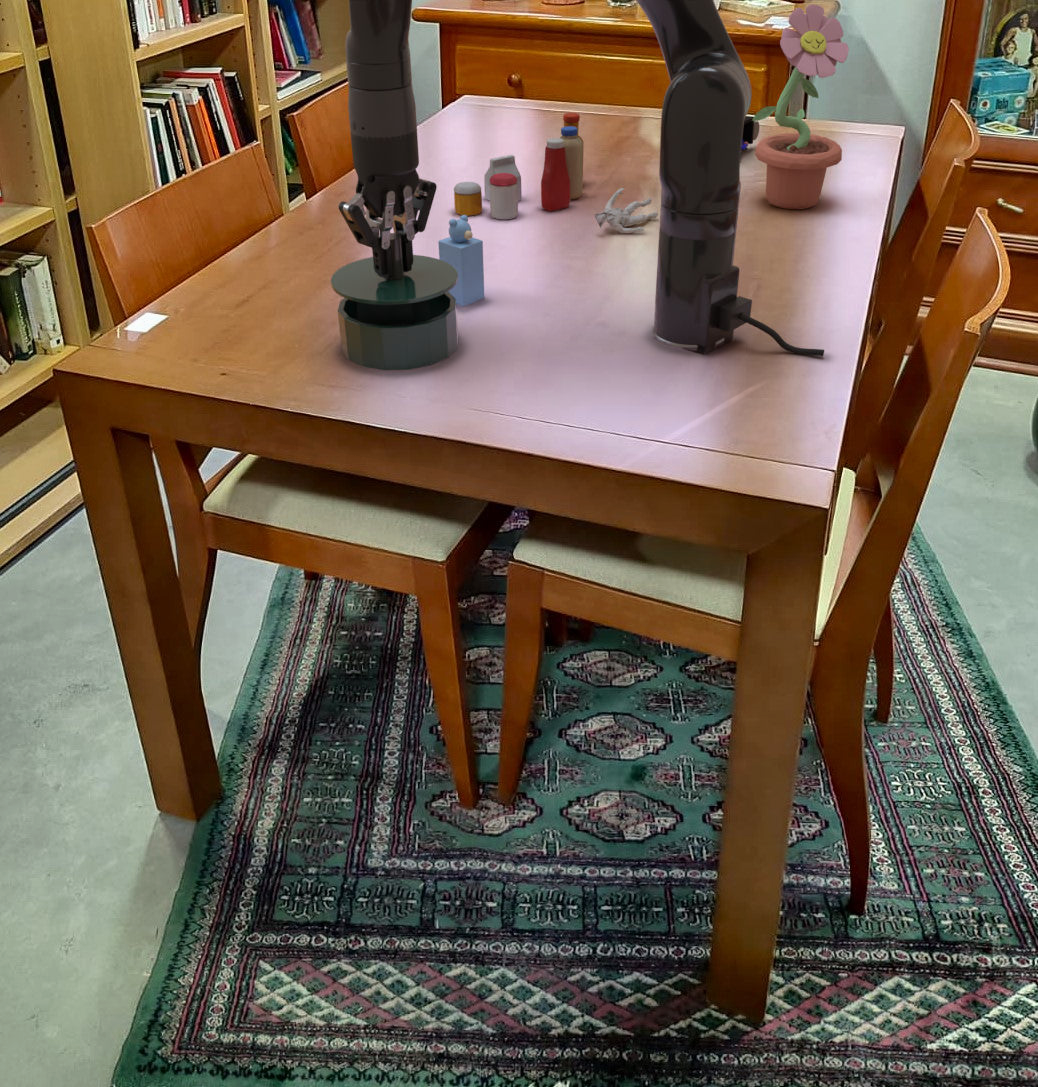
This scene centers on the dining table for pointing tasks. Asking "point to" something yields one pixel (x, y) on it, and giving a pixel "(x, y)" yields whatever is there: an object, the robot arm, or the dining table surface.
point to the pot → (399, 333)
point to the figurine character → (749, 132)
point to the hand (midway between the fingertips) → (394, 272)
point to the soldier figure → (624, 215)
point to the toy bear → (464, 261)
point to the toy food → (505, 179)
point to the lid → (395, 279)
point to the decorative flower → (802, 113)
